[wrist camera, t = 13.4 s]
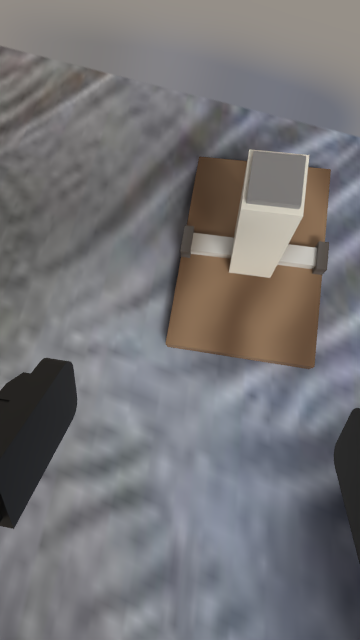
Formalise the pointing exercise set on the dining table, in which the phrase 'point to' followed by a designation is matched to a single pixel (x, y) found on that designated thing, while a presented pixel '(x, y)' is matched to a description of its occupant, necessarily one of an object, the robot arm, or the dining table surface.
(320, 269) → the rail board
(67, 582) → the dining table surface
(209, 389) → the dining table surface
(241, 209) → the rail module
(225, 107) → the dining table surface
